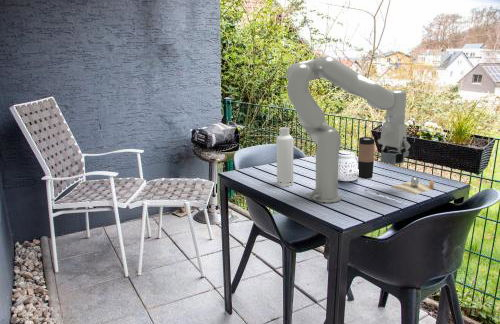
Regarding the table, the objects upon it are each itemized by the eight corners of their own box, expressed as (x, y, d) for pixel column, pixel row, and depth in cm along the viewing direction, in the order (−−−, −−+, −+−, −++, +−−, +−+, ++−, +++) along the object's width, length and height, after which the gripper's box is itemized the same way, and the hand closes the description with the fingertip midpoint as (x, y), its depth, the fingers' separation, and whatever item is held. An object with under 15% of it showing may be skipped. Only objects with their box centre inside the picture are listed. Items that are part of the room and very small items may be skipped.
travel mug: (355, 177, 196) (357, 139, 191) (359, 174, 202) (360, 136, 197) (371, 179, 192) (373, 140, 187) (374, 175, 199) (376, 137, 194)
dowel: (431, 189, 171) (432, 181, 171) (428, 188, 173) (429, 180, 172) (433, 188, 172) (434, 181, 171) (430, 187, 174) (431, 180, 173)
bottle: (292, 187, 185) (292, 129, 178) (275, 186, 186) (274, 129, 179) (294, 182, 192) (293, 126, 185) (278, 181, 194) (277, 126, 187)
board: (415, 197, 166) (415, 194, 165) (390, 189, 176) (390, 187, 176) (436, 190, 173) (436, 187, 173) (410, 183, 184) (411, 181, 184)
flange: (393, 164, 162) (394, 154, 161) (380, 161, 168) (381, 151, 167) (412, 160, 169) (413, 150, 168) (399, 157, 175) (400, 148, 174)
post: (415, 187, 174) (415, 179, 173) (409, 186, 176) (410, 178, 175) (419, 186, 175) (420, 178, 174) (413, 185, 178) (414, 176, 177)
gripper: (372, 118, 168) (370, 158, 172) (407, 123, 153) (403, 166, 158) (384, 117, 171) (381, 155, 176) (418, 121, 157) (415, 163, 162)
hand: (392, 160), depth 167 cm, fingers closed on flange, 6 cm apart
